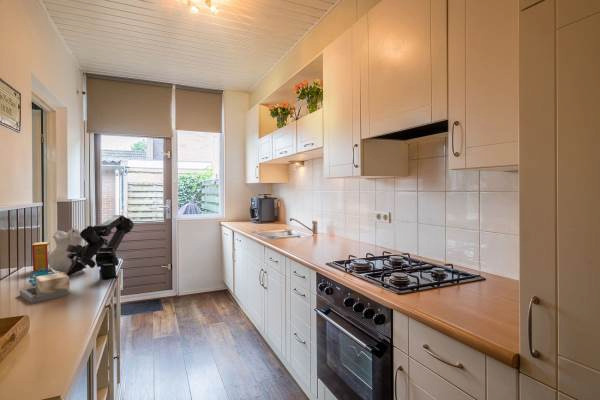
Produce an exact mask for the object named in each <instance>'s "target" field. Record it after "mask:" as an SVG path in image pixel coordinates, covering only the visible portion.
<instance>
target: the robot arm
mask: <svg viewBox="0 0 600 400" xmlns="http://www.w3.org/2000/svg"><path fill="white" fill-rule="evenodd" d="M134 225H135V224H134V221H132V219H130V218H128V217H125V215H123V214H115V215H113V216H112V217H110V218H109V219H108V220H107V221H105V222H103V223H98V224H95V225H87V226H86V227H85V228H83V229H82V230H81V232H80V236H81V237H82V240H84V241H85V242H86V243H87V244H86V245H83V244H82V245H83V246H82V245H78V244H77V245H76V246H73V245H68V248H67V250H66V251H68V252H72V253H69V254H68V255H67V257H68V258H70V260H71V266H70V268H69V269H68V271H67V273H66V275H68V276H69V277H70V275H71V276H73V275H72V274H74V273H76V272H78V271H80V270H84V269H87V267H89V268H91V269H94V268H95V267H97V268H99V267H100V269H98V270H99V272H98V273H99V276H98V278H99V279H100V280H101V279H102V280H103V281H104V280H105V281H106V280H110V279H113V278H118V275H117V266H119V263H120V260H119V258H118V257H117V254H116V251H117V250H118V248H119V246H120V244H121V242H122V241H123V239H124V237H125V236H126V235H127V234H128V233H130V232H131V231H132V230H133V228H134ZM114 228H115V229H116V231H114V234H113V235H112V237H111V238H110V240H108V239H106V238H103V237H109V236H110V235H111V234H112V230H114ZM108 241H109V242H108ZM104 245H105V246H106V247H103V246H104ZM73 252H74V253H73ZM93 257H95V259H94V260H95V261H94V260H93Z"/></svg>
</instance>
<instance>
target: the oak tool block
mask: <svg viewBox="0 0 600 400" xmlns="http://www.w3.org/2000/svg"><path fill="white" fill-rule="evenodd" d="M54 273H55V272H54ZM35 287H36V290H37V293H36V295H41V294H46V293H50V292H55V291H59V290H64V289H67V294H70V291H71V290H70V276H68V275H66V274H65V273H64V272H61V273H59V272H56V273H55V274H49V275H43V276H37V277H36V284H35Z"/></svg>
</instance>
